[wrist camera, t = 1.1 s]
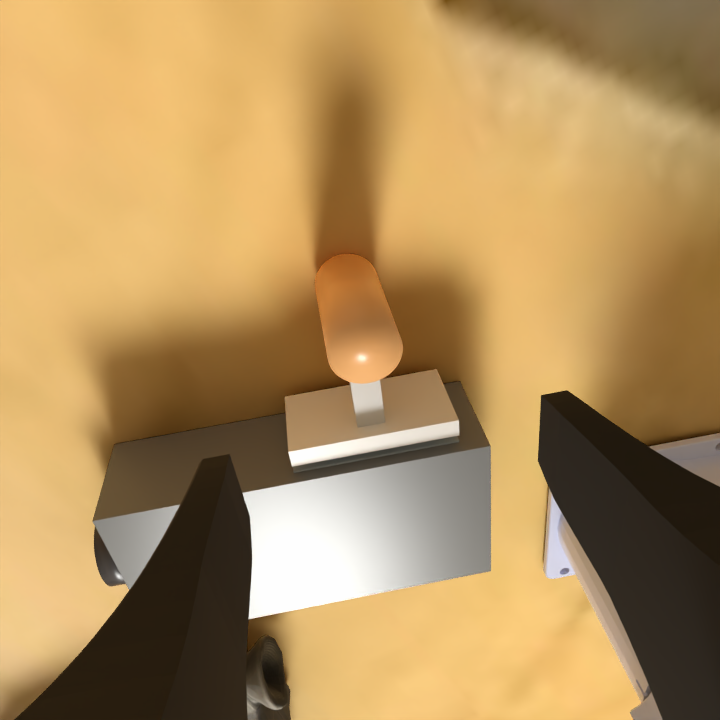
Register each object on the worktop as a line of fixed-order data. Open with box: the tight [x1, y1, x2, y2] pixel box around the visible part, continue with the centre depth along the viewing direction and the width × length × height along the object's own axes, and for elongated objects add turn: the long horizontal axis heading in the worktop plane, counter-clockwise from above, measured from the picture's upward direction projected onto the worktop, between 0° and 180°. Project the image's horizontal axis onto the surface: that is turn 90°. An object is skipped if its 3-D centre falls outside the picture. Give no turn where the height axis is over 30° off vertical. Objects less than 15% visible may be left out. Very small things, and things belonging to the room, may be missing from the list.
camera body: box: [93, 381, 491, 619], centre depth 25 cm, size 15×7×4 cm, turn 96°
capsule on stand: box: [285, 254, 459, 467], centre depth 21 cm, size 6×6×5 cm
